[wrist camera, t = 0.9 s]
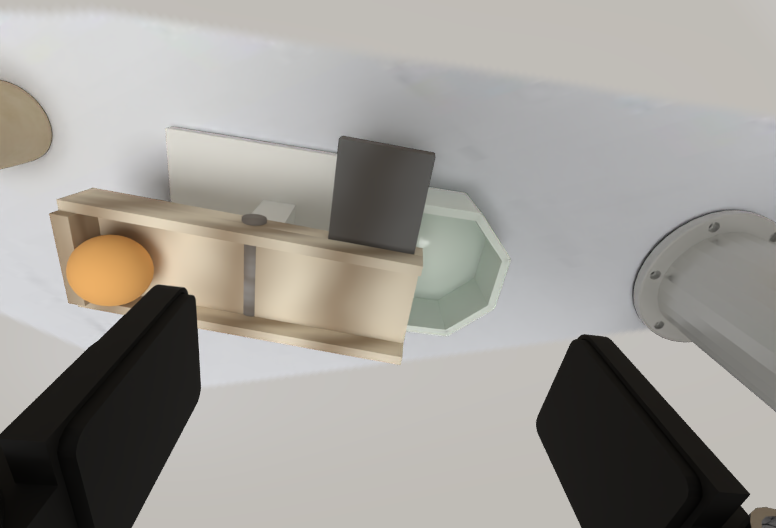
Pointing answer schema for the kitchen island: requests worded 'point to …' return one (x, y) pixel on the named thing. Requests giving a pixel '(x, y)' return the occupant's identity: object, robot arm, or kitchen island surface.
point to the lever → (282, 256)
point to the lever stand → (251, 177)
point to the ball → (109, 270)
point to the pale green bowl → (455, 265)
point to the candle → (21, 127)
